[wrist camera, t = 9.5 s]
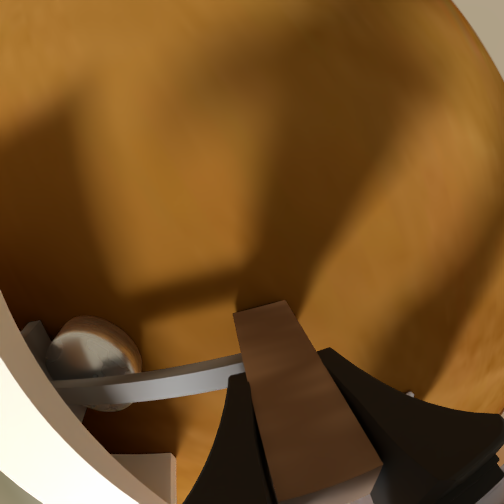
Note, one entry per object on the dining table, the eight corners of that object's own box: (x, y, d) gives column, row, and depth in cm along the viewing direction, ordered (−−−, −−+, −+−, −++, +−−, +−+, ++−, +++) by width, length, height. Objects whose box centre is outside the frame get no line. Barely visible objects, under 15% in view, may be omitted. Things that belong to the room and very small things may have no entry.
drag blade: (279, 265, 12) (396, 427, 4) (295, 365, 14) (363, 507, 6) (28, 322, 11) (-54, 435, 2) (77, 401, 13) (41, 517, 4)
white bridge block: (52, 229, 10) (-36, 281, 4) (175, 458, 16) (177, 526, 10) (-55, 277, 9) (-107, 317, 3) (60, 455, 15) (47, 506, 9)
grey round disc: (117, 306, 12) (106, 328, 10) (156, 382, 14) (153, 407, 12) (45, 323, 12) (29, 343, 10) (86, 390, 13) (78, 413, 11)
